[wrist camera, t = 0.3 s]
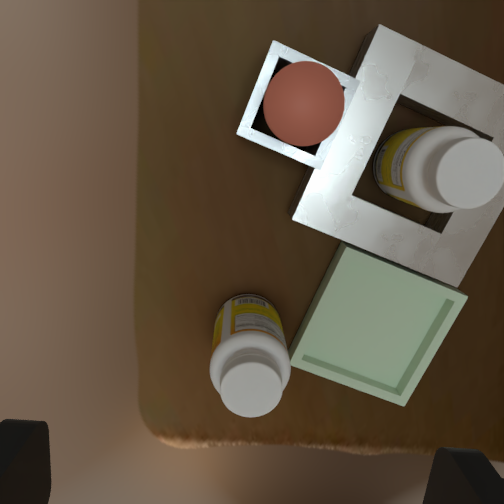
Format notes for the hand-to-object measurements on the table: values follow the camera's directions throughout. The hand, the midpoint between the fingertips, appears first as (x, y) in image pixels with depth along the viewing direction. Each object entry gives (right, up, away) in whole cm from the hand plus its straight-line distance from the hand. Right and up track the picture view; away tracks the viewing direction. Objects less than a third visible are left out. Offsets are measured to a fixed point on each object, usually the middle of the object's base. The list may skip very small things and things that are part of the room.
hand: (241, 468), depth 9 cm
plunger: (+3, +14, +21) cm, 25 cm away
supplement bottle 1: (0, -1, +28) cm, 28 cm away
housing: (+9, +12, +24) cm, 29 cm away
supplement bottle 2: (+12, +11, +25) cm, 30 cm away
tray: (+10, -2, +28) cm, 30 cm away
